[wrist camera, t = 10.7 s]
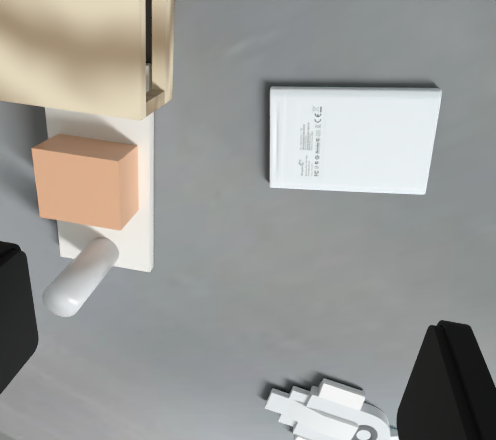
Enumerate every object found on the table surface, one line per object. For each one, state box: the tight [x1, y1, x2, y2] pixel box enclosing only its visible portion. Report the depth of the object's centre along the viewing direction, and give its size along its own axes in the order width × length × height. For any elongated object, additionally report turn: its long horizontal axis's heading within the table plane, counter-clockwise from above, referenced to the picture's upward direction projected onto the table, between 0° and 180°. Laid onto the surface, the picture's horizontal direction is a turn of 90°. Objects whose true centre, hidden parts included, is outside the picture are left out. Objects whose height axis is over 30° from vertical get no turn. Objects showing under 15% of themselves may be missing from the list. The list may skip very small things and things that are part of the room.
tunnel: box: [0, 0, 174, 121], centre depth 33 cm, size 10×12×7 cm
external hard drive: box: [270, 86, 442, 194], centre depth 36 cm, size 2×8×12 cm
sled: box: [31, 63, 154, 317], centre depth 37 cm, size 19×9×9 cm, turn 174°
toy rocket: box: [265, 378, 399, 440], centre depth 50 cm, size 16×10×2 cm, turn 74°
